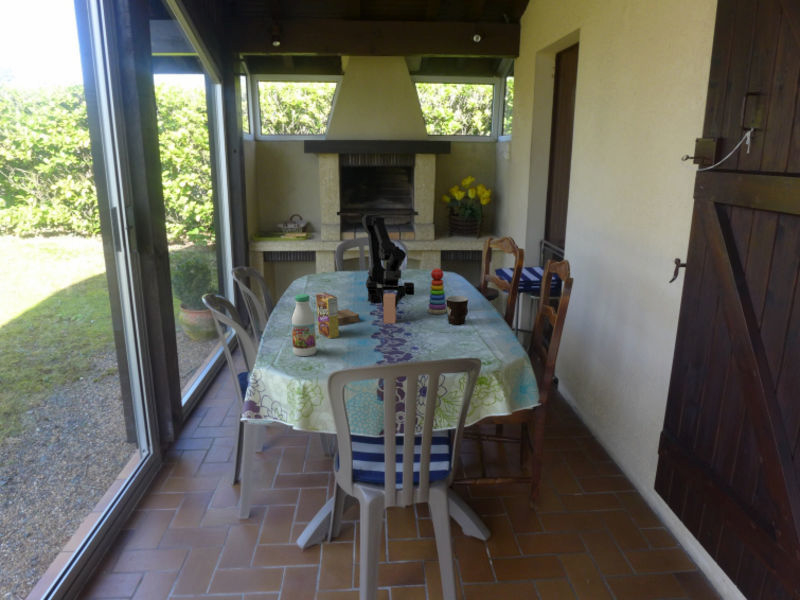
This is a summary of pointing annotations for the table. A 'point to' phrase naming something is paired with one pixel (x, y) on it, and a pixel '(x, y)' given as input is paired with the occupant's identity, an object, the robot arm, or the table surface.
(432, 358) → the table surface
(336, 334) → the candy box
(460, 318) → the coffee mug
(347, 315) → the walnut plinth
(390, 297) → the terracotta block
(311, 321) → the milk bottle
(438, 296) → the stacking toy
